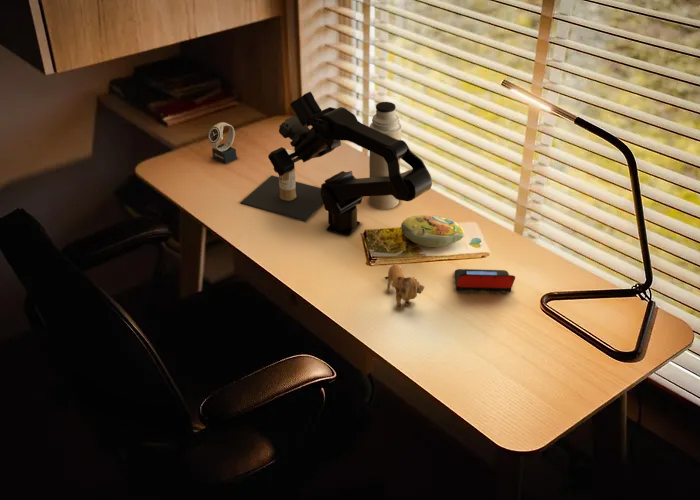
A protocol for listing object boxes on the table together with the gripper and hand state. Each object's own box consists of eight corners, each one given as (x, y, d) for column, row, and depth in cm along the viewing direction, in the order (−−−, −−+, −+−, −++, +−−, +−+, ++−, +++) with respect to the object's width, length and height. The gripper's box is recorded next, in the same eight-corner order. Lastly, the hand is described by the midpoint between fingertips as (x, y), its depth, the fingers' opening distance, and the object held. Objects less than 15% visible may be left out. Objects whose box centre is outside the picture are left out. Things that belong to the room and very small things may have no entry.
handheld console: (507, 273, 185) (511, 247, 181) (512, 302, 177) (516, 276, 172) (453, 272, 186) (456, 246, 182) (456, 300, 177) (458, 274, 173)
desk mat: (334, 192, 216) (334, 191, 216) (305, 221, 204) (305, 220, 204) (271, 176, 223) (271, 175, 223) (240, 203, 212) (240, 202, 211)
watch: (207, 160, 231) (203, 126, 225) (228, 150, 236) (225, 117, 230) (220, 166, 228) (216, 132, 222) (241, 156, 233) (238, 122, 227)
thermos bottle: (404, 199, 213) (408, 103, 196) (387, 212, 207) (390, 114, 191) (380, 190, 217) (382, 95, 200) (363, 202, 211) (363, 106, 195)
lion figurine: (425, 313, 174) (427, 280, 169) (404, 319, 172) (405, 287, 167) (394, 276, 185) (395, 245, 179) (374, 282, 183) (374, 251, 178)
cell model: (405, 214, 202) (461, 203, 196) (413, 242, 204) (469, 232, 198) (393, 228, 193) (451, 217, 187) (402, 257, 195) (460, 247, 189)
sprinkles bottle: (276, 197, 213) (273, 153, 205) (288, 190, 216) (285, 147, 208) (288, 203, 211) (285, 158, 203) (300, 196, 214) (298, 152, 206)
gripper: (326, 99, 200) (298, 126, 212) (270, 123, 189) (244, 150, 201) (348, 137, 200) (319, 161, 212) (294, 163, 189) (267, 187, 201)
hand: (288, 164), depth 207 cm, fingers open, 9 cm apart
